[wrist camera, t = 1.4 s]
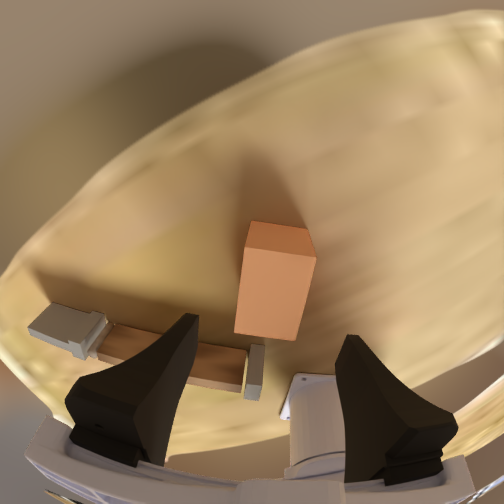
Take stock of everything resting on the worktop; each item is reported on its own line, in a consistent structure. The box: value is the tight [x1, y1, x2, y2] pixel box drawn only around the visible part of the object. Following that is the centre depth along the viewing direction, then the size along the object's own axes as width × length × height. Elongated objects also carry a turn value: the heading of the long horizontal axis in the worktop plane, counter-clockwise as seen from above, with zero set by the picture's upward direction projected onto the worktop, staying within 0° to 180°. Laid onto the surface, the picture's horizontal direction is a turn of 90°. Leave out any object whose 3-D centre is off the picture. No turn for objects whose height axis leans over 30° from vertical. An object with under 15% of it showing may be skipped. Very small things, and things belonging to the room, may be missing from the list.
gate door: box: [87, 322, 247, 393], centre depth 23 cm, size 14×1×4 cm, turn 83°
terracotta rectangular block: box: [234, 221, 317, 341], centre depth 19 cm, size 4×6×5 cm, turn 173°
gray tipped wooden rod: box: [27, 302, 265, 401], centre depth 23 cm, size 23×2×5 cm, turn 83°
